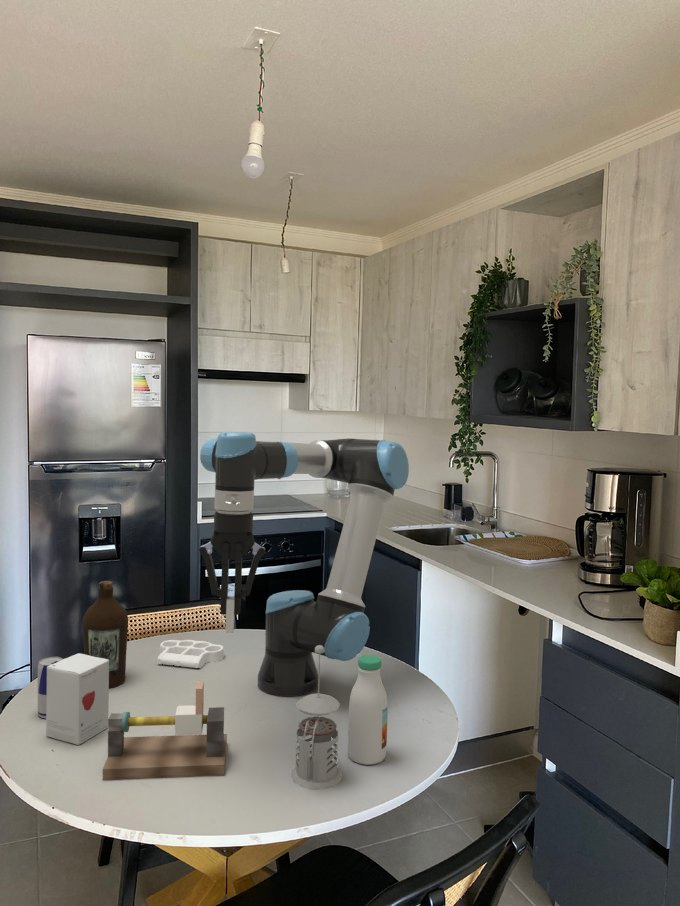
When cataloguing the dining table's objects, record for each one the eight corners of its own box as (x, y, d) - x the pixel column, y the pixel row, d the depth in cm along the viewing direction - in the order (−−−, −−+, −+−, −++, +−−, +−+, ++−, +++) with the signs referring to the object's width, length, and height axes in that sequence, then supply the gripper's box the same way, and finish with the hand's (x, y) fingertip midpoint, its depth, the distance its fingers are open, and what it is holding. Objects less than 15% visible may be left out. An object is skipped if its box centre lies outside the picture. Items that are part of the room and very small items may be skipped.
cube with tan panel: (203, 724, 135) (203, 680, 134) (201, 734, 131) (202, 688, 130) (177, 725, 134) (177, 681, 133) (175, 735, 130) (175, 689, 129)
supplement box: (78, 746, 137) (78, 673, 136) (44, 737, 140) (44, 666, 139) (110, 727, 145) (110, 658, 144) (77, 718, 148) (77, 651, 147)
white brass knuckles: (146, 665, 180) (170, 647, 195) (209, 673, 177) (230, 653, 191) (146, 653, 180) (170, 635, 194) (210, 660, 176) (230, 641, 191)
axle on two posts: (226, 743, 140) (227, 696, 139) (223, 774, 128) (224, 724, 127) (115, 747, 137) (116, 699, 136) (102, 779, 125) (102, 728, 124)
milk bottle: (374, 770, 131) (377, 668, 129) (340, 758, 135) (343, 659, 134) (392, 753, 137) (396, 656, 136) (359, 742, 141) (362, 648, 140)
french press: (347, 765, 132) (350, 639, 131) (333, 798, 121) (337, 661, 119) (298, 758, 135) (301, 634, 133) (280, 789, 123) (283, 655, 122)
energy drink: (54, 720, 147) (54, 666, 146) (32, 717, 148) (32, 664, 148) (69, 710, 153) (68, 657, 152) (47, 707, 154) (47, 655, 153)
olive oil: (85, 674, 172) (85, 577, 171) (129, 672, 175) (130, 576, 173) (79, 692, 162) (79, 588, 160) (126, 689, 164) (126, 587, 163)
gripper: (197, 513, 128) (193, 636, 129) (267, 515, 129) (262, 637, 131) (201, 507, 136) (198, 624, 137) (267, 509, 137) (263, 625, 138)
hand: (229, 630), depth 134 cm, fingers closed
